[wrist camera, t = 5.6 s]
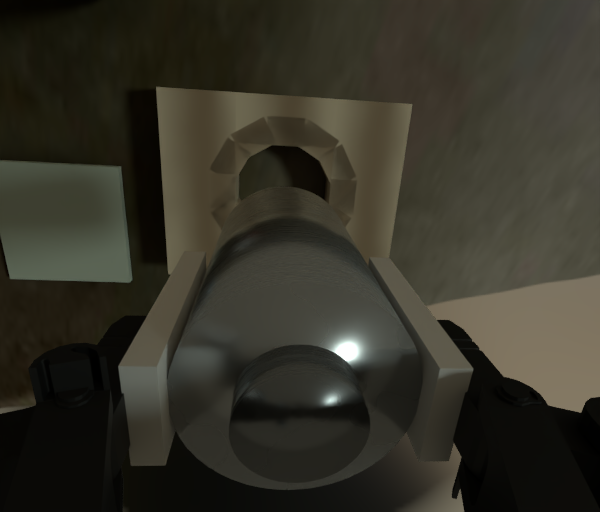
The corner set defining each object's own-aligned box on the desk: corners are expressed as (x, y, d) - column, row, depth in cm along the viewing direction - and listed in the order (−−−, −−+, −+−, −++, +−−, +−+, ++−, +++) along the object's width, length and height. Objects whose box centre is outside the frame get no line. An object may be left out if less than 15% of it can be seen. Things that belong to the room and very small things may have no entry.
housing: (176, 260, 35) (168, 274, 32) (167, 88, 30) (156, 86, 27) (376, 267, 36) (385, 280, 33) (400, 104, 31) (412, 104, 28)
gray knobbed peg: (220, 304, 19) (163, 531, 9) (218, 183, 17) (142, 302, 7) (340, 307, 20) (414, 524, 10) (353, 189, 18) (466, 310, 7)
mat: (14, 276, 34) (10, 278, 34) (-12, 159, 31) (-17, 160, 30) (132, 279, 35) (130, 282, 34) (120, 166, 31) (118, 167, 31)
